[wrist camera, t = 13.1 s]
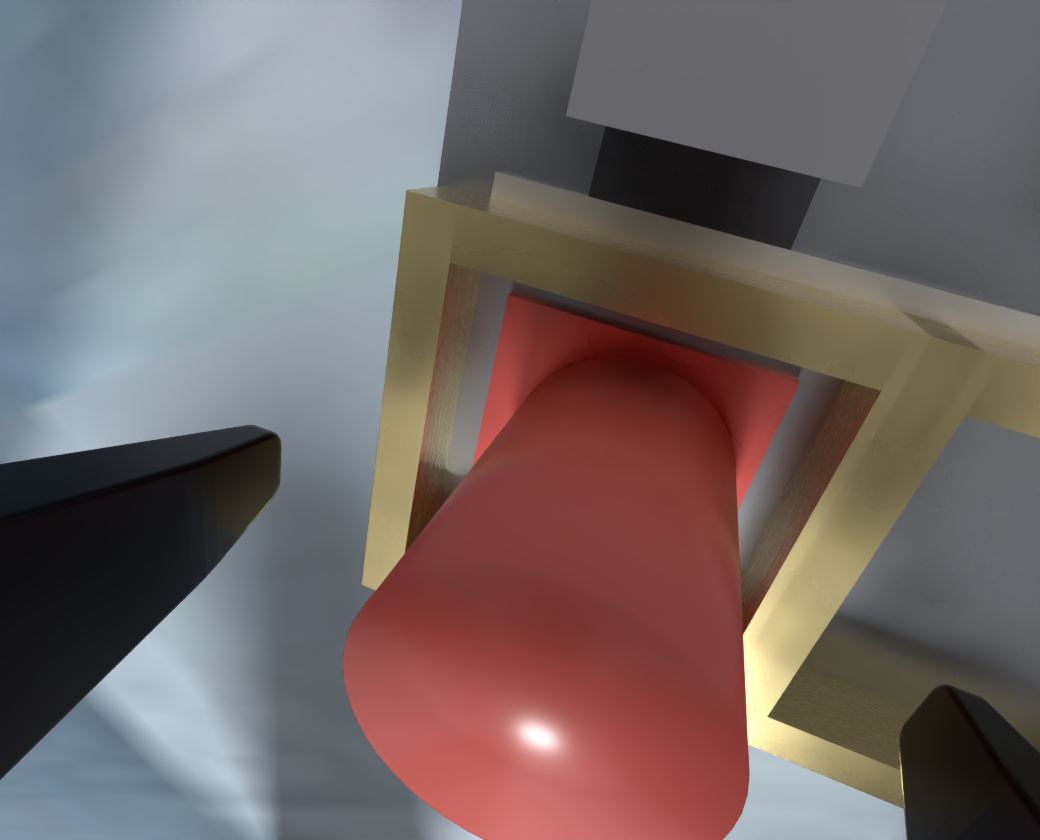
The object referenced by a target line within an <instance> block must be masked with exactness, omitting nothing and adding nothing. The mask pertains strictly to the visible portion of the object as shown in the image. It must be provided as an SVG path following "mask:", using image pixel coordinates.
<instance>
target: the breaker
mask: <svg viewBox="0 0 1040 840" xmlns="http://www.w3.org/2000/svg"><path fill="white" fill-rule="evenodd" d="M947 2H948V0H592V1H591V6H590V10H589V15H588V19H587V24H586V28H585V33H584V37H583V42H582V46H581V50H580V55H579V59H578V64H577V68H576V73H575V77H574V82H573V86H572V91H571V95H570V100H569V104H568V109H567V113H566V116H568V117H572V118H575V119H579V120H583V121H588V122H592V123H596V124H600V125H604V126H608V127H612V128H616V129H620V130H625V131H629V132H633V133H637V134H641V135H645V136H649V137H653V138H657V139H662V140H666V141H670V142H674V143H678V144H682V145H686V146H690V147H694V148H699V149H703V150H707V151H711V152H715V153H719V154H723V155H727V156H731V157H736V158H740V159H744V160H748V161H752V162H756V163H760V164H764V165H768V166H773V167H777V168H781V169H785V170H789V171H793V172H797V173H801V174H805V175H810V176H814V177H818V178H822V179H826V180H830V181H834V182H838V183H842V184H847V185H851V186H856V187H860V188H862V186H863V183H864V181H865V179H866V177H867V175H868V173H869V171H870V168H871V166H872V164H873V162H874V160H875V158H876V155H877V153H878V151H879V149H880V147H881V145H882V142H883V140H884V138H885V136H886V134H887V132H888V129H889V127H890V125H891V123H892V121H893V119H894V117H895V114H896V112H897V110H898V108H899V106H900V104H901V101H902V99H903V97H904V95H905V93H906V91H907V88H908V86H909V84H910V82H911V80H912V78H913V75H914V73H915V71H916V69H917V67H918V65H919V63H920V60H921V58H922V56H923V54H924V52H925V50H926V47H927V45H928V43H929V41H930V39H931V37H932V34H933V32H934V30H935V28H936V26H937V24H938V21H939V19H940V17H941V15H942V13H943V11H944V9H945V6H946V4H947Z"/></svg>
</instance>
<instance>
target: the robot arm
mask: <svg viewBox="0 0 1040 840" xmlns="http://www.w3.org/2000/svg"><path fill="white" fill-rule="evenodd" d="M280 469H281V441H280V438H279V436H278V435H277V434H276V433H274V432H272V431H269V430H266V429H264V428H261V427H258V426H255V425H246V426H239V427H233V428H227V429H220V430H214V431H208V432H201V433H195V434H189V435H182V436H176V437H170V438H163V439H157V440H151V441H144V442H138V443H132V444H125V445H119V446H113V447H106V448H100V449H94V450H87V451H81V452H75V453H68V454H62V455H56V456H49V457H43V458H37V459H30V460H24V461H17V462H11V463H5V464H0V780H1V779H2V778H3V777H4V776H5V775H6V774H7V773H8V772H9V771H10V770H11V769H12V768H13V767H14V766H15V765H16V764H17V763H18V762H19V761H20V760H21V759H22V758H23V757H24V756H25V755H26V754H27V753H28V752H29V751H30V750H31V749H32V748H33V747H34V746H35V745H36V744H37V743H38V742H39V741H40V740H41V739H42V738H43V737H44V736H45V735H46V734H47V733H48V732H50V731H51V730H52V729H53V728H54V727H55V726H56V725H57V724H58V723H59V722H60V721H61V720H62V719H63V718H64V717H65V716H66V715H67V714H68V713H69V712H70V711H71V710H72V709H73V708H74V707H75V706H76V705H77V704H78V703H79V702H80V701H81V700H82V699H83V698H84V697H85V696H86V695H87V694H88V693H89V692H90V691H91V690H92V689H93V688H94V687H95V686H96V685H97V684H98V683H99V682H100V681H101V680H102V679H103V678H104V677H105V676H106V675H107V674H108V673H110V672H111V671H112V670H113V669H114V668H115V667H116V666H117V665H118V664H119V663H120V662H121V661H122V660H123V659H124V658H125V657H126V656H127V655H128V654H129V653H130V652H131V651H132V650H133V649H134V648H135V647H136V646H137V645H138V644H139V643H140V642H141V641H142V640H143V639H144V638H145V637H146V636H147V635H148V634H149V633H150V632H151V631H152V630H153V629H154V628H155V627H156V626H157V625H158V624H159V623H160V622H161V621H162V620H163V619H164V618H165V617H166V616H167V615H169V614H170V613H171V612H172V611H173V610H174V609H175V608H176V607H177V606H178V605H179V604H180V603H181V602H182V601H183V600H184V599H185V598H186V597H187V596H188V595H189V594H190V593H191V592H192V591H193V590H194V589H195V588H196V587H197V586H198V585H199V584H200V583H201V582H202V581H203V580H204V579H205V578H206V577H207V575H208V574H209V573H210V572H211V571H212V570H213V569H214V568H215V566H216V565H217V564H218V563H219V562H220V561H221V559H222V558H223V557H224V556H225V555H226V553H227V552H228V551H229V550H230V549H231V547H232V546H233V545H234V544H235V543H236V541H237V540H238V539H239V538H240V537H241V535H242V534H243V533H244V532H245V531H246V529H247V528H248V527H249V526H250V525H251V523H252V522H253V521H254V520H255V519H256V517H257V516H258V515H259V514H260V513H261V511H262V510H263V509H264V508H265V507H266V505H267V504H268V503H269V502H270V501H271V499H272V498H273V497H274V495H275V494H276V492H277V490H278V487H279V484H280ZM899 753H900V765H901V777H902V790H903V802H904V814H905V826H906V838H907V840H1040V753H1039V752H1038V751H1037V750H1036V749H1035V748H1034V747H1033V746H1032V745H1031V744H1030V743H1029V742H1028V741H1027V740H1026V739H1025V738H1024V737H1023V736H1022V735H1021V734H1020V733H1019V732H1018V731H1017V730H1016V729H1015V728H1014V727H1013V726H1012V725H1011V724H1010V723H1009V722H1008V721H1007V720H1006V719H1005V718H1004V717H1003V716H1002V715H1001V714H1000V713H999V712H998V711H997V710H995V709H994V708H993V707H992V706H991V705H990V704H989V703H988V702H987V701H986V700H985V699H983V698H982V697H980V696H978V695H975V694H973V693H970V692H967V691H965V690H962V689H959V688H957V687H954V686H951V685H939V686H937V687H935V688H934V689H933V690H932V691H931V692H930V693H929V695H928V696H927V697H926V698H925V699H924V701H923V702H922V703H921V704H920V705H919V707H918V708H917V709H916V710H915V711H914V713H913V714H912V715H911V716H910V717H909V718H908V720H907V721H906V722H905V724H904V725H903V727H902V729H901V732H900V737H899Z"/></svg>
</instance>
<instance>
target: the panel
mask: <svg viewBox="0 0 1040 840" xmlns="http://www.w3.org/2000/svg"><path fill="white" fill-rule="evenodd" d="M591 1H592V0H463V4H462V12H461V19H460V26H459V34H458V41H457V48H456V55H455V63H454V70H453V77H452V85H451V92H450V99H449V106H448V114H447V121H446V128H445V136H444V143H443V150H442V157H441V165H440V172H439V179H438V187H431V188H422V189H413V190H407V191H406V200H405V208H404V217H403V226H402V235H401V244H400V252H399V261H398V270H397V279H396V288H395V296H394V305H393V314H392V323H391V331H390V340H389V349H388V358H387V367H386V375H385V384H384V393H383V402H382V411H381V419H380V428H379V437H378V446H377V454H376V463H375V472H374V481H373V490H372V498H371V507H370V516H369V525H368V534H367V542H366V551H365V560H364V569H363V577H362V585H363V586H366V587H368V588H371V589H373V590H377V588H378V587H379V586H380V585H381V583H382V582H383V581H384V579H385V578H386V577H387V576H388V574H389V573H390V572H391V571H392V569H393V568H394V567H395V565H396V564H397V563H398V562H399V560H400V559H401V558H402V556H403V555H404V554H405V553H406V551H407V550H408V549H409V547H410V546H411V545H412V544H413V542H414V541H415V540H416V539H417V537H418V536H419V535H420V533H421V532H422V531H423V530H424V528H425V527H426V526H427V524H428V523H429V522H430V521H431V519H432V518H433V517H434V516H435V514H436V513H437V512H438V510H439V509H440V508H441V507H442V505H443V504H444V503H445V501H446V500H447V499H448V498H449V496H450V495H451V494H452V492H453V491H454V490H455V489H456V487H457V486H458V485H459V484H460V482H461V481H462V480H463V478H464V477H465V476H466V475H467V473H468V472H469V471H470V469H471V468H472V467H473V466H474V464H475V463H476V462H477V461H478V459H479V458H480V457H481V455H482V454H483V453H484V452H485V450H486V449H487V448H488V446H489V445H490V444H491V443H492V441H493V440H494V439H495V437H496V436H497V435H498V434H499V432H500V431H501V430H502V429H503V427H504V426H505V425H506V423H507V422H508V421H509V420H510V418H511V417H512V416H513V414H514V413H515V412H516V411H517V409H518V408H519V407H520V406H521V404H522V403H523V402H524V400H525V399H526V398H527V397H528V395H529V394H530V393H531V392H532V391H533V390H534V389H535V388H536V387H537V386H538V385H539V384H540V383H541V382H543V381H544V380H545V379H547V378H548V377H549V376H551V375H553V374H554V373H556V372H558V371H560V370H561V369H564V368H566V367H569V366H571V365H574V364H577V363H581V362H585V361H589V360H596V359H604V358H608V359H628V360H636V361H640V362H644V363H648V364H652V365H654V366H657V367H659V368H662V369H665V370H667V371H669V372H671V373H673V374H675V375H676V376H678V377H680V378H682V379H683V380H685V381H686V382H688V383H689V384H690V385H692V386H693V387H695V388H696V389H697V390H698V391H699V392H700V393H701V394H702V395H703V396H704V397H705V398H706V399H707V400H708V401H709V402H710V403H711V405H712V406H713V407H714V408H715V409H716V411H717V412H718V414H719V415H720V417H721V419H722V420H723V422H724V424H725V426H726V428H727V431H728V433H729V435H730V438H731V441H732V445H733V449H734V455H735V465H736V486H737V508H738V531H739V553H740V576H741V598H742V621H743V643H744V666H745V688H746V711H747V733H748V745H751V746H753V747H756V748H758V749H761V750H763V751H765V752H768V753H770V754H773V755H775V756H778V757H780V758H782V759H785V760H787V761H790V762H792V763H794V764H797V765H799V766H802V767H804V768H807V769H809V770H811V771H814V772H816V773H819V774H821V775H824V776H826V777H828V778H831V779H833V780H836V781H838V782H840V783H843V784H845V785H848V786H850V787H853V788H855V789H857V790H860V791H862V792H865V793H867V794H870V795H872V796H874V797H877V798H879V799H882V800H884V801H886V802H889V803H891V804H894V805H896V806H899V807H901V808H903V809H904V802H903V790H902V777H901V765H900V753H899V737H900V732H901V729H902V727H903V725H904V724H905V722H906V721H907V720H908V718H909V717H910V716H911V715H912V714H913V713H914V711H915V710H916V709H917V708H918V707H919V705H920V704H921V703H922V702H923V701H924V699H925V698H926V697H927V696H928V695H929V693H930V692H931V691H932V690H933V689H934V688H935V687H937V686H939V685H951V686H954V687H957V688H959V689H962V690H965V691H967V692H970V693H973V694H975V695H978V696H980V697H982V698H983V699H985V700H986V701H987V702H988V703H989V704H990V705H991V706H992V707H993V708H994V709H995V710H997V711H998V712H999V713H1000V714H1001V715H1002V716H1003V717H1004V718H1005V719H1006V720H1007V721H1008V722H1009V723H1010V724H1011V725H1012V726H1013V727H1014V728H1015V729H1016V730H1017V731H1018V732H1019V733H1020V734H1021V735H1022V736H1023V737H1024V738H1025V739H1026V740H1027V741H1028V742H1029V743H1030V744H1031V745H1032V746H1033V747H1034V748H1035V749H1036V750H1037V751H1038V752H1039V753H1040V0H948V2H947V4H946V6H945V9H944V11H943V13H942V15H941V17H940V19H939V21H938V24H937V26H936V28H935V30H934V32H933V34H932V37H931V39H930V41H929V43H928V45H927V47H926V50H925V52H924V54H923V56H922V58H921V60H920V63H919V65H918V67H917V69H916V71H915V73H914V75H913V78H912V80H911V82H910V84H909V86H908V88H907V91H906V93H905V95H904V97H903V99H902V101H901V104H900V106H899V108H898V110H897V112H896V114H895V117H894V119H893V121H892V123H891V125H890V127H889V129H888V132H887V134H886V136H885V138H884V140H883V142H882V145H881V147H880V149H879V151H878V153H877V155H876V158H875V160H874V162H873V164H872V166H871V168H870V171H869V173H868V175H867V177H866V179H865V181H864V183H863V186H862V188H860V187H856V186H851V185H847V184H842V183H838V182H834V181H830V180H826V179H822V178H818V177H814V176H810V175H805V174H801V173H797V172H793V171H789V170H785V169H781V168H777V167H773V166H768V165H764V164H760V163H756V162H752V161H748V160H744V159H740V158H736V157H731V156H727V155H723V154H719V153H715V152H711V151H707V150H703V149H699V148H694V147H690V146H686V145H682V144H678V143H674V142H670V141H666V140H662V139H657V138H653V137H649V136H645V135H641V134H637V133H633V132H629V131H625V130H620V129H616V128H612V127H608V126H604V125H600V124H596V123H592V122H588V121H583V120H579V119H575V118H572V117H568V116H566V113H567V109H568V104H569V100H570V95H571V91H572V86H573V82H574V77H575V73H576V68H577V64H578V59H579V55H580V50H581V46H582V42H583V37H584V33H585V28H586V24H587V19H588V15H589V10H590V6H591Z"/></svg>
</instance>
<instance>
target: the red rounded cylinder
mask: <svg viewBox="0 0 1040 840" xmlns="http://www.w3.org/2000/svg"><path fill="white" fill-rule="evenodd" d="M343 674H344V681H345V688H346V691H347V695H348V698H349V702H350V705H351V708H352V710H353V712H354V714H355V717H356V719H357V721H358V724H359V725H360V727H361V729H362V731H363V732H364V734H365V736H366V738H367V739H368V741H369V742H370V744H371V745H372V747H373V748H374V749H375V751H376V752H377V754H378V755H379V756H380V758H381V759H382V760H383V761H384V762H385V764H386V765H387V766H388V767H389V768H390V769H391V771H392V772H393V773H394V774H395V775H396V776H397V777H398V778H399V779H400V780H401V781H402V782H403V783H404V784H405V785H406V786H407V787H408V788H409V789H410V790H411V791H412V792H414V793H415V794H416V795H417V796H418V797H420V798H421V799H422V800H423V801H424V802H425V803H427V804H428V805H429V806H431V807H432V808H433V809H435V810H436V811H438V812H439V813H440V814H442V815H443V816H444V817H446V818H447V819H449V820H450V821H452V822H454V823H455V824H457V825H458V826H460V827H462V828H463V829H465V830H466V831H468V832H470V833H472V834H474V835H476V836H478V837H480V838H481V839H483V840H723V839H724V838H725V837H726V836H727V835H728V833H729V832H730V831H731V830H732V829H733V827H734V825H735V824H736V822H737V820H738V819H739V817H740V815H741V814H742V811H743V808H744V805H745V801H746V798H747V795H748V784H749V755H748V733H747V711H746V688H745V666H744V643H743V621H742V598H741V576H740V553H739V531H738V508H737V486H736V465H735V455H734V449H733V445H732V441H731V438H730V435H729V433H728V431H727V428H726V426H725V424H724V422H723V420H722V419H721V417H720V415H719V414H718V412H717V411H716V409H715V408H714V407H713V406H712V405H711V403H710V402H709V401H708V400H707V399H706V398H705V397H704V396H703V395H702V394H701V393H700V392H699V391H698V390H697V389H696V388H695V387H693V386H692V385H690V384H689V383H688V382H686V381H685V380H683V379H682V378H680V377H678V376H676V375H675V374H673V373H671V372H669V371H667V370H665V369H662V368H659V367H657V366H654V365H652V364H648V363H644V362H640V361H636V360H628V359H608V358H604V359H596V360H589V361H585V362H581V363H577V364H574V365H571V366H569V367H566V368H564V369H561V370H560V371H558V372H556V373H554V374H553V375H551V376H549V377H548V378H547V379H545V380H544V381H543V382H541V383H540V384H539V385H538V386H537V387H536V388H535V389H534V390H533V391H532V392H531V393H530V394H529V395H528V397H527V398H526V399H525V400H524V402H523V403H522V404H521V406H520V407H519V408H518V409H517V411H516V412H515V413H514V414H513V416H512V417H511V418H510V420H509V421H508V422H507V423H506V425H505V426H504V427H503V429H502V430H501V431H500V432H499V434H498V435H497V436H496V437H495V439H494V440H493V441H492V443H491V444H490V445H489V446H488V448H487V449H486V450H485V452H484V453H483V454H482V455H481V457H480V458H479V459H478V461H477V462H476V463H475V464H474V466H473V467H472V468H471V469H470V471H469V472H468V473H467V475H466V476H465V477H464V478H463V480H462V481H461V482H460V484H459V485H458V486H457V487H456V489H455V490H454V491H453V492H452V494H451V495H450V496H449V498H448V499H447V500H446V501H445V503H444V504H443V505H442V507H441V508H440V509H439V510H438V512H437V513H436V514H435V516H434V517H433V518H432V519H431V521H430V522H429V523H428V524H427V526H426V527H425V528H424V530H423V531H422V532H421V533H420V535H419V536H418V537H417V539H416V540H415V541H414V542H413V544H412V545H411V546H410V547H409V549H408V550H407V551H406V553H405V554H404V555H403V556H402V558H401V559H400V560H399V562H398V563H397V564H396V565H395V567H394V568H393V569H392V571H391V572H390V573H389V574H388V576H387V577H386V578H385V579H384V581H383V582H382V583H381V585H380V586H379V587H378V588H377V590H376V591H375V592H374V594H373V595H372V596H371V597H370V599H369V600H368V601H367V602H366V604H365V605H364V606H363V608H362V609H361V611H360V612H359V614H358V615H357V617H356V618H355V620H354V621H353V623H352V625H351V628H350V630H349V633H348V635H347V638H346V643H345V648H344V653H343Z"/></svg>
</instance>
